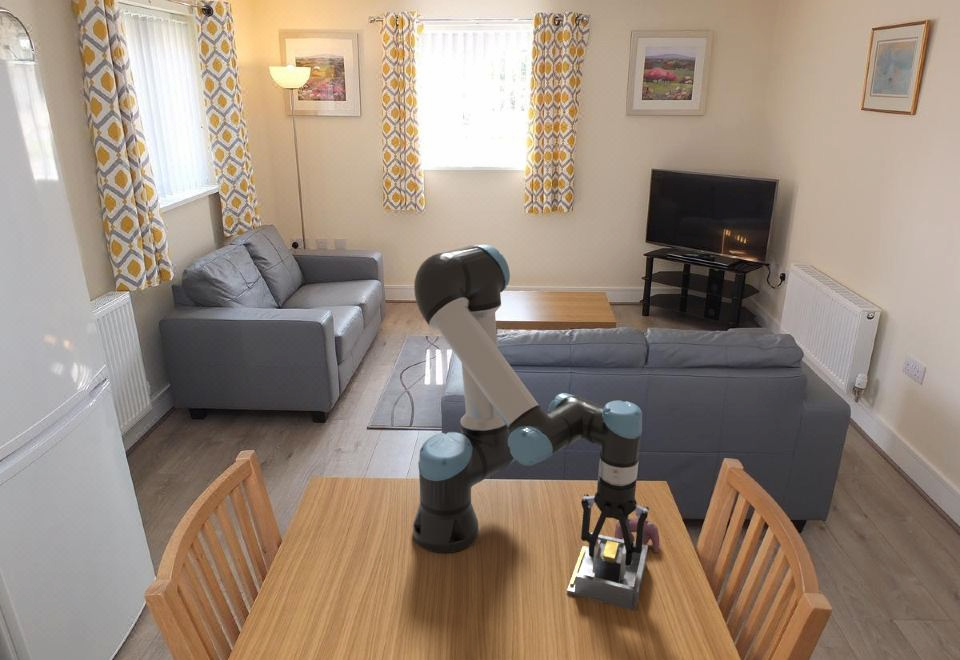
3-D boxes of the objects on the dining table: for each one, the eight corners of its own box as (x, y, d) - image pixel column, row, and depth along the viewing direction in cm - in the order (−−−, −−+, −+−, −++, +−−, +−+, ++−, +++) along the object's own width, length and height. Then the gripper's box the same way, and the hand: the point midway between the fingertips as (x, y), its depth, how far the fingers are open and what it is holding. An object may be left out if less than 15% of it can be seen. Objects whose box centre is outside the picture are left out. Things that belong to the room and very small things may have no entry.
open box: (567, 593, 142) (568, 574, 140) (582, 548, 155) (584, 531, 153) (635, 610, 137) (638, 591, 136) (645, 563, 150) (648, 545, 149)
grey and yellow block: (594, 581, 144) (596, 554, 141) (598, 565, 148) (601, 538, 146) (618, 587, 142) (620, 559, 140) (622, 571, 147) (624, 544, 144)
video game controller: (657, 550, 157) (657, 518, 158) (660, 554, 153) (661, 522, 153) (613, 547, 158) (614, 516, 159) (615, 551, 154) (616, 519, 154)
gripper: (568, 477, 137) (562, 573, 145) (661, 496, 131) (650, 594, 139) (577, 459, 143) (571, 551, 151) (665, 475, 138) (654, 571, 146)
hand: (608, 571), depth 145 cm, fingers closed on grey and yellow block, 5 cm apart
